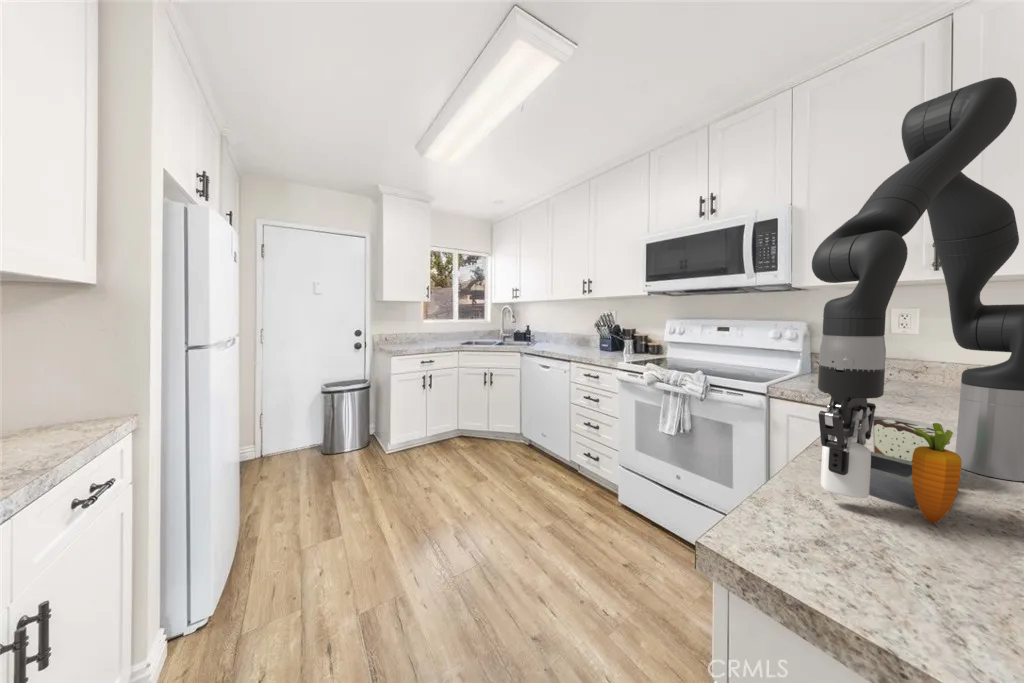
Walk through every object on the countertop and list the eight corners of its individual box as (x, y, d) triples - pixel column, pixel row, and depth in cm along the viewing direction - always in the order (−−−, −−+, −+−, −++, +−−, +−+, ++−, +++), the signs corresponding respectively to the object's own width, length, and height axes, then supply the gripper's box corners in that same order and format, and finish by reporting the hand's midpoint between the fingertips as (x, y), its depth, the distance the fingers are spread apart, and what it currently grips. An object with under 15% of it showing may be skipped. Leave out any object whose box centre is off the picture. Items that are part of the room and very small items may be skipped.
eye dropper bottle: (826, 481, 61) (829, 413, 60) (871, 495, 56) (876, 421, 55) (816, 489, 58) (820, 417, 57) (863, 503, 54) (868, 426, 53)
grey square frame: (856, 467, 73) (858, 448, 73) (938, 490, 63) (940, 468, 63) (827, 481, 67) (828, 460, 66) (913, 508, 57) (915, 484, 57)
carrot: (944, 535, 50) (953, 431, 49) (898, 516, 55) (905, 421, 54) (966, 530, 51) (975, 428, 50) (919, 512, 56) (926, 419, 55)
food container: (969, 489, 64) (973, 434, 63) (934, 488, 64) (938, 434, 63) (896, 461, 76) (899, 415, 75) (866, 461, 76) (870, 415, 75)
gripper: (840, 358, 62) (835, 453, 64) (799, 364, 56) (795, 470, 57) (901, 363, 56) (894, 468, 57) (863, 371, 49) (857, 490, 50)
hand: (845, 468), depth 57 cm, fingers closed on eye dropper bottle, 4 cm apart
